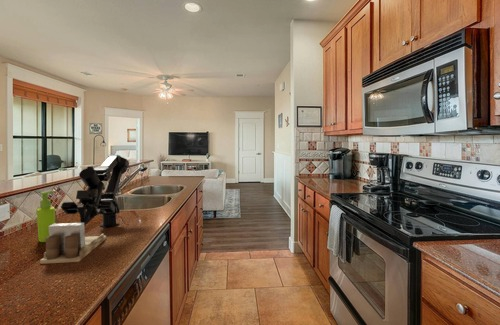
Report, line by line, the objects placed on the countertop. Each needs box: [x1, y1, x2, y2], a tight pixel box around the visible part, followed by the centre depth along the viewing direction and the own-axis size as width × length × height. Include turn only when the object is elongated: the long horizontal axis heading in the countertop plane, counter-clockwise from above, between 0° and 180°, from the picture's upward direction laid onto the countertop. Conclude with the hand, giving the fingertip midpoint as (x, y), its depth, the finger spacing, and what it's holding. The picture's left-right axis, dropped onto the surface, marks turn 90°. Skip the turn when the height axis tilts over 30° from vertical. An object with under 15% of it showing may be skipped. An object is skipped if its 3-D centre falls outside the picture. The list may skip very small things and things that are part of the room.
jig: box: [39, 233, 107, 265], centre depth 98 cm, size 22×12×8 cm, turn 7°
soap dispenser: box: [36, 190, 57, 243], centre depth 108 cm, size 6×7×20 cm
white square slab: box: [49, 222, 86, 254], centre depth 92 cm, size 3×10×10 cm, turn 97°
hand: (82, 226), depth 102 cm, fingers closed
